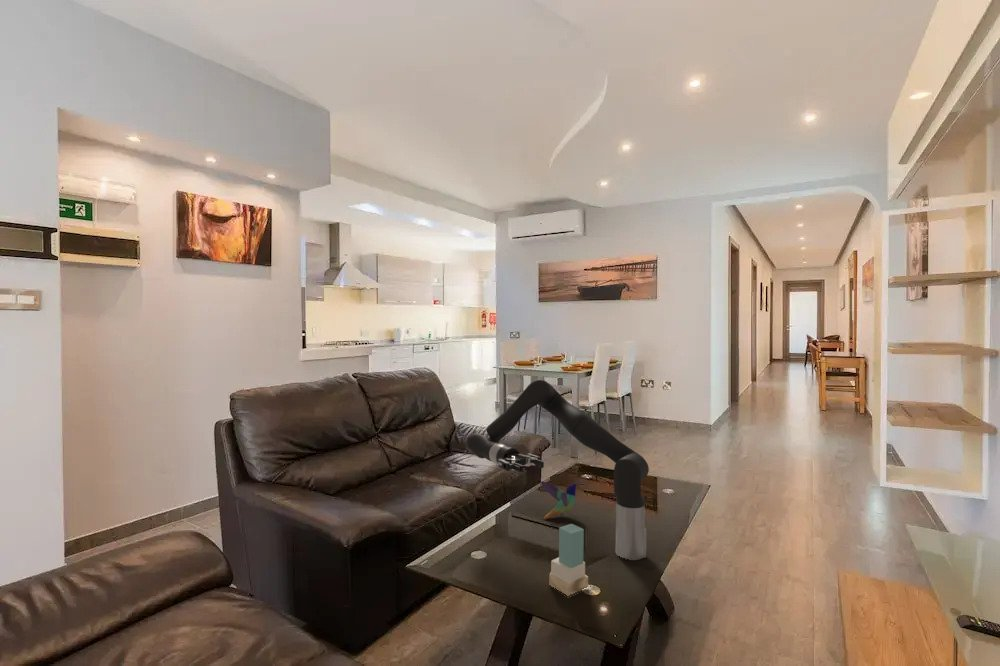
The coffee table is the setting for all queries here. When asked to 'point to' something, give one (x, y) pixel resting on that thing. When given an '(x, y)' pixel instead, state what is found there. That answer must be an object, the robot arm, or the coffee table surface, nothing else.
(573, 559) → the teal block
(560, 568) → the tower top block
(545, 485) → the decorative sculpture
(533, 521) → the coffee table surface
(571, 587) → the tower base block
